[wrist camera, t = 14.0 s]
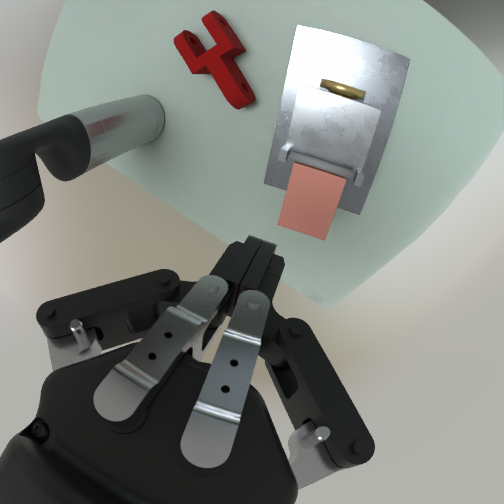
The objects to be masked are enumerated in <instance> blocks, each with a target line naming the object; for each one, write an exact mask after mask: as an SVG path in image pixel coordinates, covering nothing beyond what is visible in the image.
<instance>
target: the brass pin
mask: <svg viewBox="0 0 504 504" xmlns="http://www.w3.org/2000/svg"><path fill="white" fill-rule="evenodd" d="M319 87H321V88H325V89H328V90H329V91H328V92H330V93H333V94H337V95H340V96H343V97H346V98H349V99H352V100H354V98H357V99H360V100H363V101H364V97H365V93H366V92H365V91H363V90H360V89H357V88H354V87H351V86H348V85H345V84H342V83H338V82H335V81H331V80H327V79H323V78H321V82H320V86H319Z"/></svg>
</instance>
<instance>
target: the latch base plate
mask: <svg viewBox="0 0 504 504" xmlns="http://www.w3.org/2000/svg"><path fill="white" fill-rule="evenodd" d="M409 61H410V59H409V58H406V57H404V56H402V55H399V54H397V53H394V52H392V51H389V50H387V49H384V48H381V47H378V46H376V45H373V44H370V43H367V42H364V41H360V40H357V39H354V38H351V37H347V36H343V35H340V34H336V33H332V32H328V31H324V30H319V29H315V28H310V27H305V26H299V25H297V29H296V34H295V38H294V43H293V48H292V52H291V57H290V62H289V67H288V71H287V76H286V81H285V85H284V90H283V95H282V100H281V104H280V109H279V114H278V119H277V123H276V128H275V133H274V138H273V142H272V147H271V152H270V157H269V162H268V166H267V171H266V176H265V181H264V184H267V185H271V186H274V187H277V188H281V189H284V190H287V187H288V183H289V180H290V176H291V172H292V168H293V164H294V162H295V161H292V160H289V157H290V154H291V151H293V152H296V153H300V154H303V155H307V156H310V157H313V158H316V159H319V160H323V161H326V162H329V163H332V164H335V165H338V166H341V167H344V168H346V169H349V170H352V171H354V176H353V179H352V180H351V179H348V178H346V182H345V185H344V188H343V191H342V194H341V197H340V200H339V203H338V205H337V207H339V208H342V209H344V210H347V211H350V212H353V213H356V214H358V215H360V212H361V210H362V207H363V205H364V202H365V200H366V197H367V195H368V192H369V190H370V187H371V184H372V182H373V179H374V176H375V174H376V171H377V168H378V165H379V162H380V160H381V157H382V154H383V151H384V148H385V145H386V142H387V139H388V136H389V133H390V130H391V127H392V123H393V120H394V117H395V114H396V110H397V107H398V103H399V100H400V96H401V93H402V89H403V85H404V81H405V77H406V73H407V69H408V65H409ZM321 78H323V79H327V80H331V81H335V82H338V83H342V84H345V85H348V86H351V87H354V88H357V89H360V90H363V91H365V92H366V93H365V97H364V101H363V100H360V99H357V98H354V100H352V99H349V98H346V97H343V96H340V95H337V94H333V93H330V92H328V91H329V90H328V89H325V88H321V87H319V86H320V82H321Z"/></svg>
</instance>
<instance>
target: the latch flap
mask: <svg viewBox="0 0 504 504" xmlns="http://www.w3.org/2000/svg"><path fill="white" fill-rule="evenodd" d="M289 160H292V161H295V162H294V164H293V168H292V172H291V176H290V180H289V183H288V187H287V191H286V195H285V199H284V202H283V206H282V210H281V214H280V218H279V221H278V225H280V226H283V227H286V228H289V229H292V230H295V231H298V232H301V233H304V234H307V235H310V236H313V237H316V238H319V239H322V240H325V238H326V236H327V233H328V230H329V228H330V225H331V222H332V219H333V217H334V214H335V211H336V208H337V205H338V203H339V200H340V197H341V194H342V191H343V188H344V185H345V182H346V178H348V179H351V180H352V179H353V176H354V171H352V170H349V169H346V168H344V167H341V166H338V165H335V164H332V163H329V162H326V161H323V160H319V159H316V158H313V157H310V156H307V155H303V154H300V153H296V152H293V151H291V154H290V157H289Z"/></svg>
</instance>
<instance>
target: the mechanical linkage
mask: <svg viewBox="0 0 504 504" xmlns="http://www.w3.org/2000/svg"><path fill="white" fill-rule="evenodd" d="M202 22H203V24H204V26H205V27H206V28H207V30H208V31H209V33H210V34H211V36H212V38H213V39H214V41H215V42H216V44H217V45H215V46H214V47H212V48H211V49H209V50H208V51H206V50H205V48H204V47H203V45H202V43H201V42H200V40H199V39H198V38H197V37H196V36H195V35H194V34H193V33H191V32H190V31H187V30H184V31H183V32H181V33H180V34H179V35H177V36H176V37H175V38H174V44H175V46H176V48H177V49H178V51H179V53H180V54H181V56H182V57H183V59H184V61H185V62H186V64H187V66H188V67H189V69H190V71H191V72H192V74H209V73H211V75H212V76H213V78H214V80H215V81H216V83H217V85H218V86H219V88H220V90H221V91H222V93H223V95H224V96H225V98H226V99H227V101H228V102H229V103H230V104H231V105H232V106H233V107H234V108H236V109H241V108H243V107H245V106H247V105H248V104H250V103H252V102H254V101H255V96H254V93H253V91H252V89H251V88H250V86H249V84H248V82H247V81H246V79H245V77H244V76H243V74H242V72H241V71H240V69H239V68H238V66H237V64H236V63H235V61H234V59H233V58H235V57H236V56H238V55H240V54H242V53H243V52H245V51H246V50H245V48H244V47H243V45H242V44H241V42H240V40H239V39H238V37H237V36H236V34H235V33H234V31H233V30H232V28H231V27H230V25H229V24H228V23H227V21H226V20H225V19H224V18H223V17H222V16H221V15H220V14H219V13H218V12H216V11H211V12H210V13H208V14H207V15H205V16H204V17H202Z"/></svg>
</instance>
